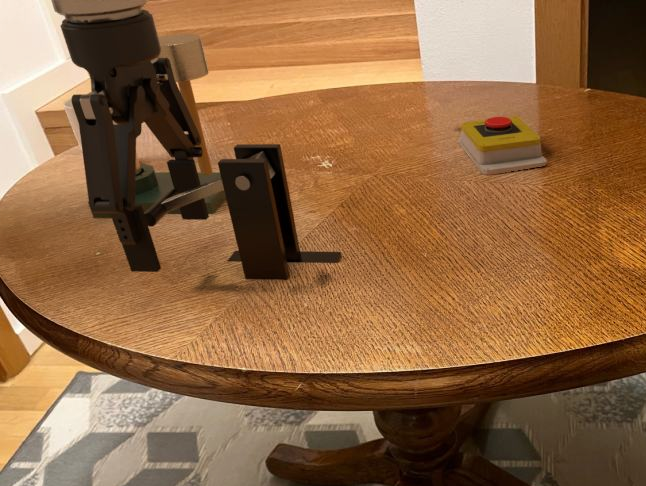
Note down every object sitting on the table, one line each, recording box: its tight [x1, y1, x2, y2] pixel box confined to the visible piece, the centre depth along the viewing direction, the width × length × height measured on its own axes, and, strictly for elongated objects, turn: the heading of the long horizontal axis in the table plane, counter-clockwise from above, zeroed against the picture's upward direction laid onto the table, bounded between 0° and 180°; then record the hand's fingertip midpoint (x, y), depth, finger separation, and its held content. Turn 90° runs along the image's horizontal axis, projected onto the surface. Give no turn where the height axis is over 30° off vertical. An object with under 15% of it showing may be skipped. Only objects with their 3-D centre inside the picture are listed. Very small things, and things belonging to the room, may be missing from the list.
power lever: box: [144, 151, 275, 228], centre depth 71 cm, size 13×6×2 cm, turn 84°
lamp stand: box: [157, 33, 213, 175], centre depth 88 cm, size 6×6×16 cm
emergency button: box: [457, 115, 548, 176], centre depth 104 cm, size 9×4×15 cm
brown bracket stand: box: [217, 143, 343, 281], centre depth 73 cm, size 12×9×14 cm
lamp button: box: [135, 158, 142, 177], centre depth 94 cm, size 4×4×2 cm
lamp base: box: [87, 163, 227, 219], centre depth 94 cm, size 16×10×4 cm, turn 84°
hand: (172, 242), depth 75 cm, fingers open, 11 cm apart
